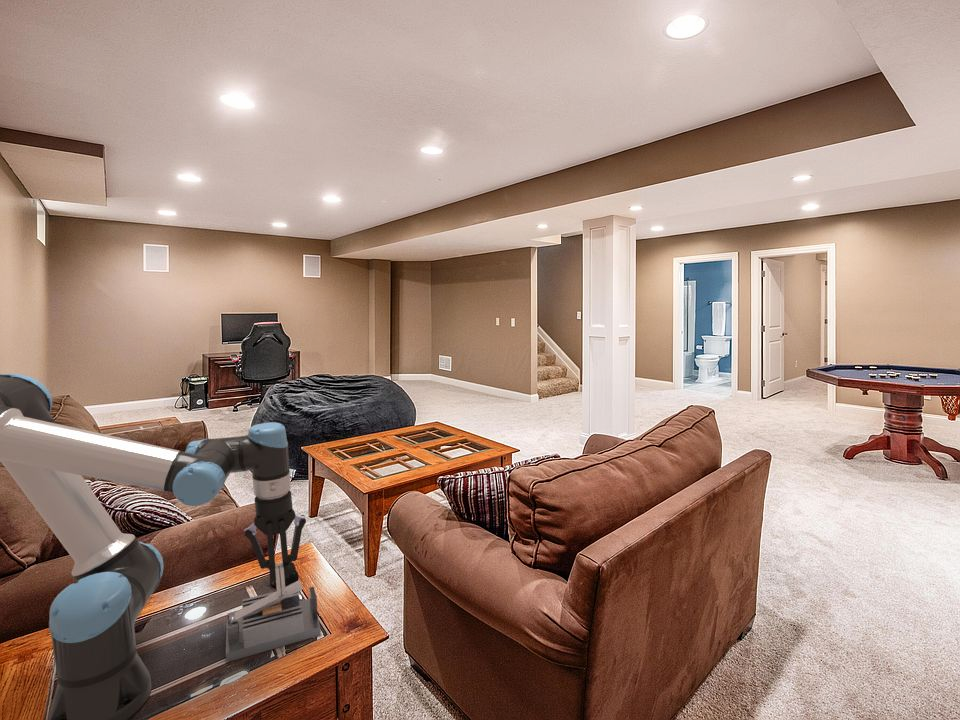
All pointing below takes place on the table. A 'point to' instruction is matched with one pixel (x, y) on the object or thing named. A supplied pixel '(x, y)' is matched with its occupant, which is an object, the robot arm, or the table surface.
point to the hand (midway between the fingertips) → (281, 591)
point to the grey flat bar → (263, 603)
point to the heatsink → (272, 626)
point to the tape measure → (292, 577)
